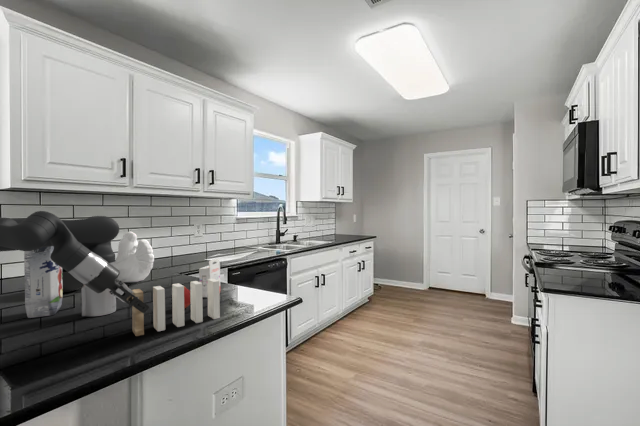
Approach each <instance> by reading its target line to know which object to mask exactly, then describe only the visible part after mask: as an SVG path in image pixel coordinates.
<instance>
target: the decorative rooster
mask: <svg viewBox="0 0 640 426" xmlns="http://www.w3.org/2000/svg"><path fill="white" fill-rule="evenodd" d="M117 246H118V248H117V250H118V251H117V255H116V257H115V268H116V269H118V270H119V271H120V274H119V276H118V278H117V279H116V280H117V281H118V282H119V281H120V280H121V281H122V282H123V283H138V282H141V281H144V280H145V279H146V278H147V277H148V276H149V275H150V272H151V271H152V269H153V267H154V262H155V255H154V250H153V246H152V245H151V244H150V241H148V239H144V238H143V239H140V240H138V235H137V234H136V233H135V232H133V231H125V232H124V233H123V235H122V238H121V239H120V240H119V242H118V245H117Z"/></svg>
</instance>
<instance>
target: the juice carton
mask: <svg viewBox="0 0 640 426" xmlns="http://www.w3.org/2000/svg"><path fill="white" fill-rule="evenodd" d="M53 250H54V247H53V246H50V247H43V248H39V249H36V250H32V251H23V252H24V253H23V255H24V258H23V259H24V261H23V262H24V263H23V265H24V266H23V267H24V271H23V272H24V306H25V307H24V308H25V312H26V316H27V318H28V319H31V318H32V319H33V318H42V317H49V316H55V315H56V313H58V311H59V310H60V309H61V307H62V303H63V298H64V297H63V293H64V292H63V290H62V268H61V267H60V266H59V265H57V264H56V263H54V262H53V261H52V260H51V258H50V256H51V254H52V252H53Z"/></svg>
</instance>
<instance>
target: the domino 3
mask: <svg viewBox="0 0 640 426" xmlns="http://www.w3.org/2000/svg"><path fill="white" fill-rule="evenodd" d="M189 283H190V284H189V286H190V289H189V290H190V299H191V304H190V320H191V321H193V322H194V323H195V324H199V323H203V321H204V319H203V318H204V317H203V314H204V313H203V305H204V304H203V297H202V283H200V281H198V280H193V281H190V282H189Z"/></svg>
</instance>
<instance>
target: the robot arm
mask: <svg viewBox="0 0 640 426" xmlns="http://www.w3.org/2000/svg"><path fill="white" fill-rule="evenodd" d="M119 233H120V226H119V223H117V221H116V220H115V219H113V218H111V217H109V216H105V215H93V216H89V217H87V218H81V219H61V218H60V217H59V216H57V215H55V214H54V213H51V212H49V211H45V210H38V211H34V212H33V213H31V214H30V215H28V216H27V217H24V218H21V217H20V218H9V217H0V252H13V251H21V252H24V251H32V250H36V249H39V248H43V247H50V246H53V247H54V250H53V252H52V254H51V256H50V258H51V260H52V261H53V262H54V263H56V264H57V265H59V266H60V267H61V268H63V269H64V270H66V271H67V272H69V273H70V274H71V275H72V276H73V277H74V278H76V279H77V280H78V281H80V282H81V283H83V284H84V286H82V287H81V294H80V295H81V317H100V316H105V315H109V314H112V313H115V312H116V311H117V299H118V300H120V301H121V302H123V303H126V304H127V305H128V306H129V307H132V306H133V307H135V308H136V309H138V310H139V311H141V312H142V313H144V314H145V313H147V311H148V310H149V309H150V306H149V305H147V304H146V303H145V302H144V301H143V302H142V301H141V300H140V299H139V298H138V297H136V296H135V295H134V292H133V291H132V290H133V289H131V288H130V287H129V286H128V285H127V284H126V282H122V281H121V280H120V281H118V280H116V279H117V278H118V276H119V274H120V271H119V270H118V269H116V268H115V260H116V254H115V252H114V250H113V247H112V241H113V240H115V239H116V238H117V237H118V235H119ZM132 297H133V299H132Z"/></svg>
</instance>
